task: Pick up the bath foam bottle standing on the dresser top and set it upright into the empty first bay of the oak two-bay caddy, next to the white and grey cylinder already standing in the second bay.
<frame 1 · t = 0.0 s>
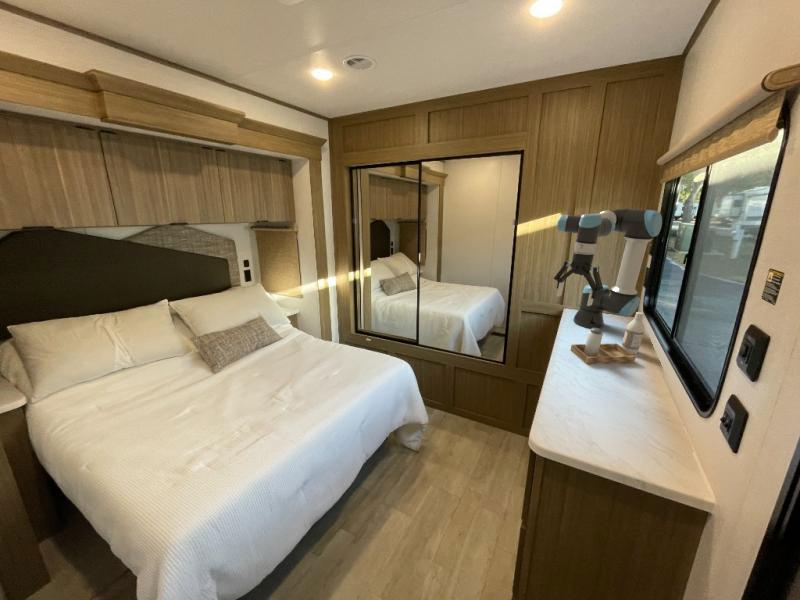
hand: (573, 300, 143), 28 cm above the table, fingers open, 13 cm apart
white and grey cylinder: (590, 355, 152), point 1 cm above the table, touching caddy
bath foam: (628, 351, 158), on the table
caddy: (601, 356, 153), on the table
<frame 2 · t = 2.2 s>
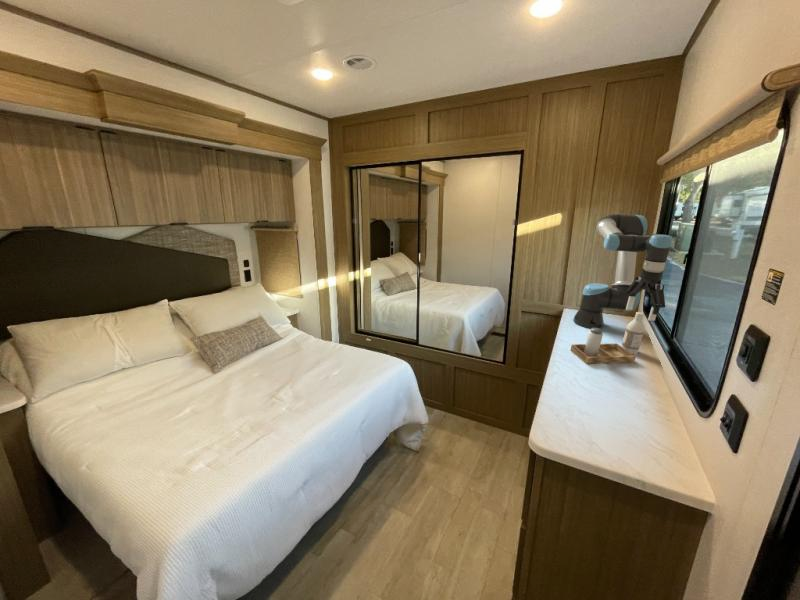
hand: (639, 314, 151), 19 cm above the table, fingers open, 13 cm apart
nothing on the table moved.
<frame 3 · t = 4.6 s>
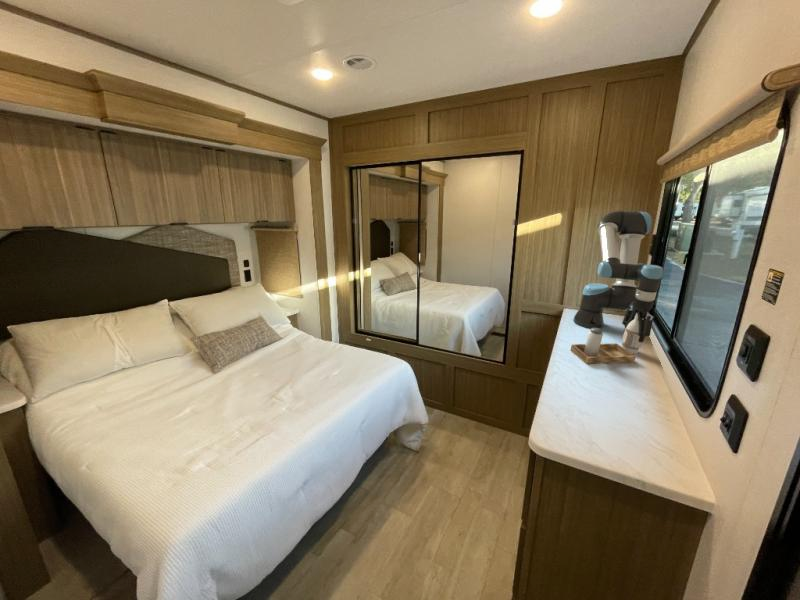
hand: (631, 343, 157), 4 cm above the table, fingers closed on bath foam, 7 cm apart
bath foam: (628, 351, 158), on the table, touching gripper
everything else where it was.
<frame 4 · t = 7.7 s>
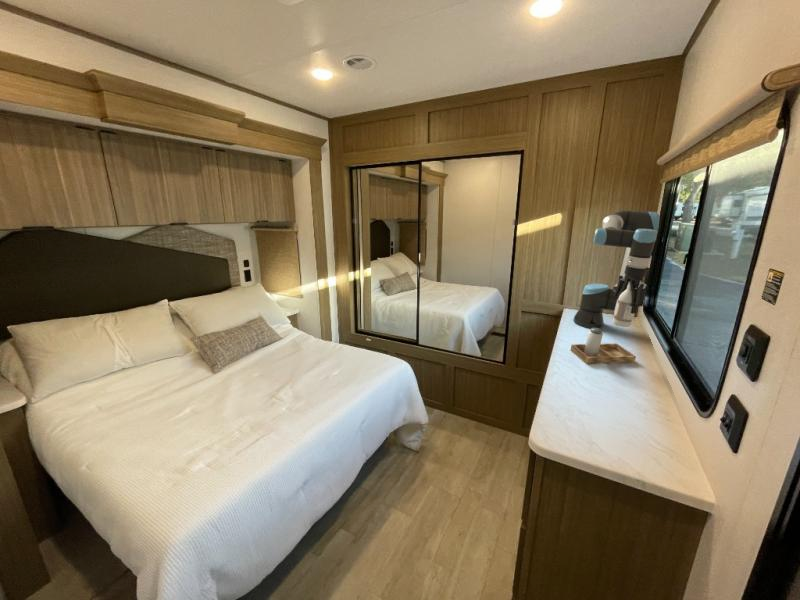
hand: (623, 315, 146), 21 cm above the table, fingers closed on bath foam, 7 cm apart
bath foam: (620, 324, 147), point 16 cm above the table, touching gripper
everything else where it was.
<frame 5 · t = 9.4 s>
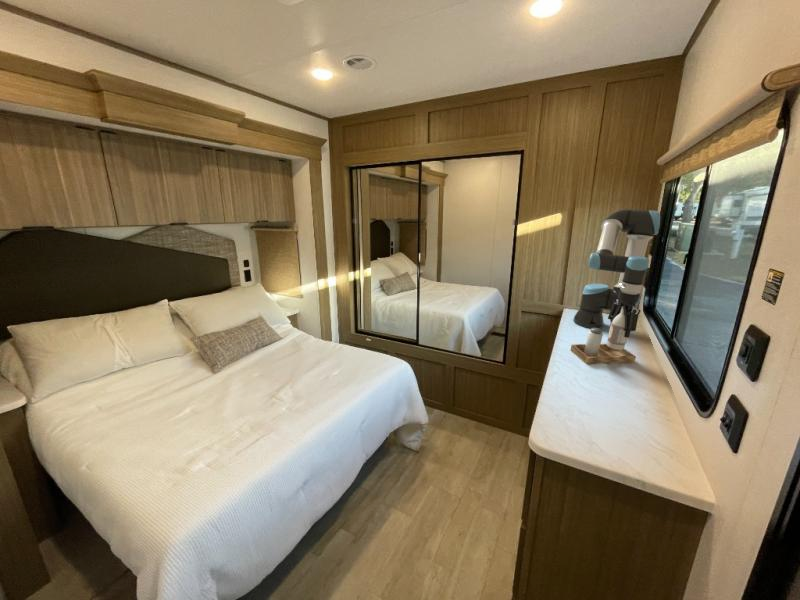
hand: (617, 338, 150), 9 cm above the table, fingers closed on bath foam, 7 cm apart
bath foam: (614, 347, 151), point 5 cm above the table, touching gripper
everything else where it was.
when the fingers open (6 cm above the table, at t = 10.9 s): bath foam drops 2 cm, resting on caddy.
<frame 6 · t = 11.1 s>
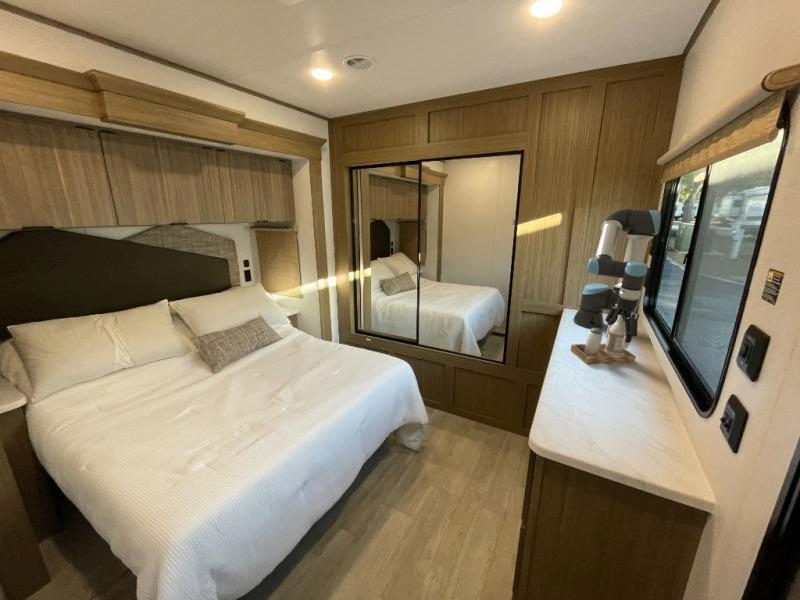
hand: (616, 342, 151), 7 cm above the table, fingers open, 10 cm apart
bath foam: (612, 354, 153), point 1 cm above the table, touching caddy
everything else where it was.
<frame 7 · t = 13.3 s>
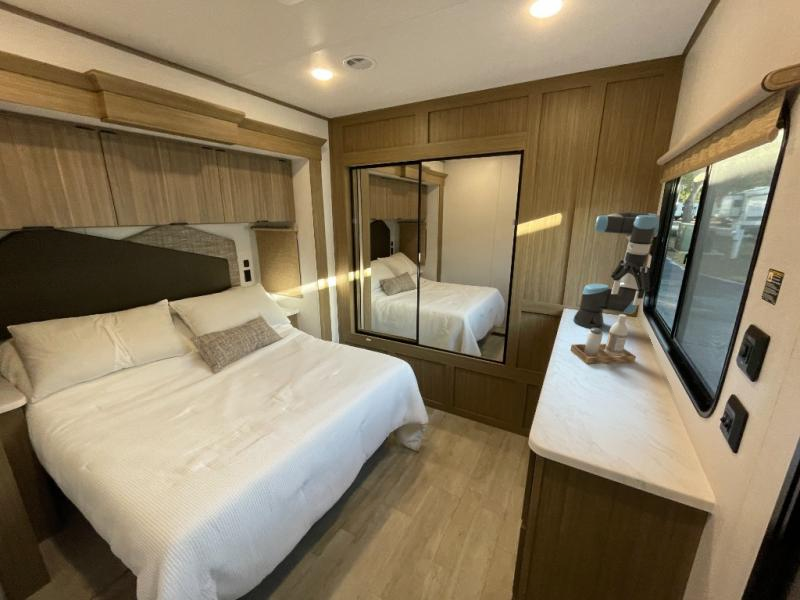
hand: (624, 299, 147), 28 cm above the table, fingers open, 13 cm apart
nothing on the table moved.
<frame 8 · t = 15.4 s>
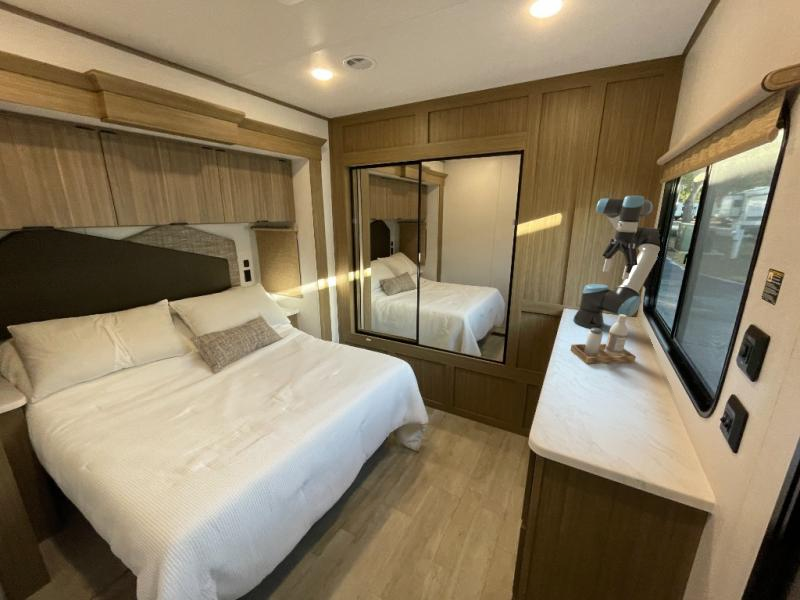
hand: (615, 275, 157), 35 cm above the table, fingers open, 13 cm apart
nothing on the table moved.
at the end: bath foam 0.2 cm from the target spot, point 0.6 cm above the table; bath foam tilted 0°; the gripper is holding nothing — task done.
